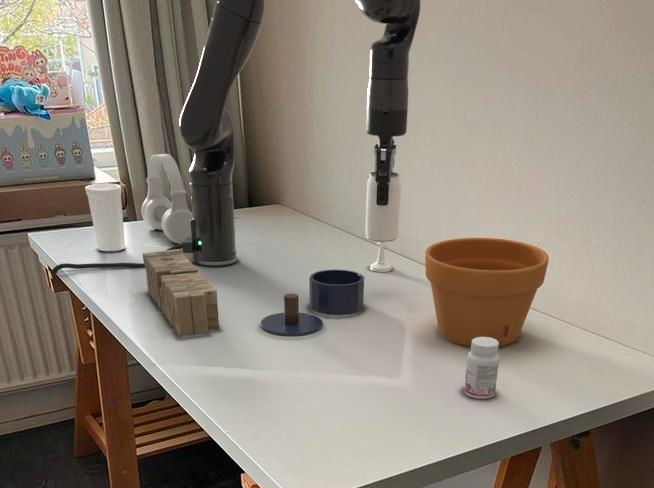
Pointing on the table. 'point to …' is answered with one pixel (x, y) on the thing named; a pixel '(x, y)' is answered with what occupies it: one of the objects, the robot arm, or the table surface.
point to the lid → (291, 320)
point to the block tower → (181, 292)
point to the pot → (336, 292)
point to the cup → (107, 215)
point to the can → (383, 210)
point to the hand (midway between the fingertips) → (383, 201)
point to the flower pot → (483, 287)
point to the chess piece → (381, 260)
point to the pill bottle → (482, 368)
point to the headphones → (166, 200)
